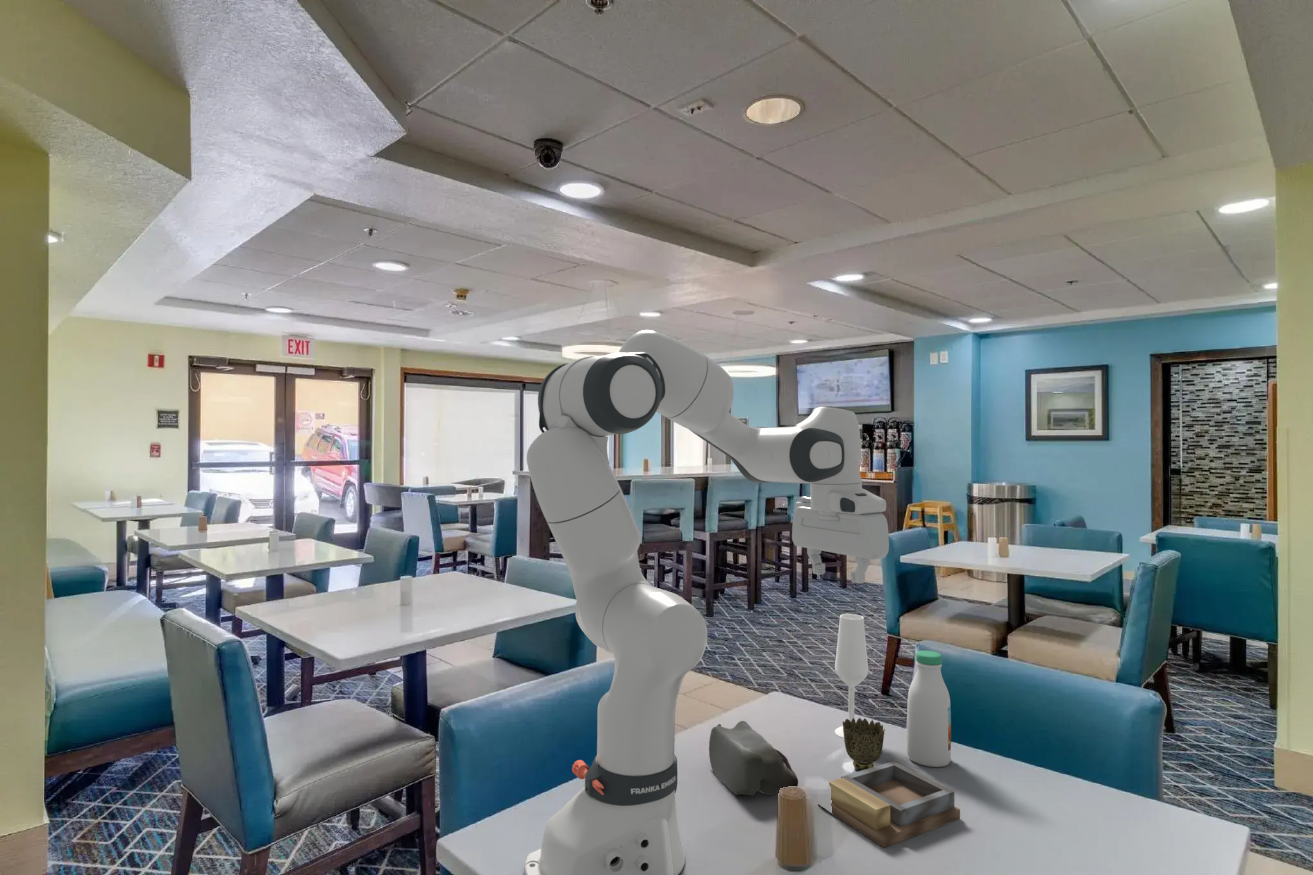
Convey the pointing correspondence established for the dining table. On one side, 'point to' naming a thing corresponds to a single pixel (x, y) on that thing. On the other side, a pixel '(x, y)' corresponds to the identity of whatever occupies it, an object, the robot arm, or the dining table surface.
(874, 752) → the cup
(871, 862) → the dining table surface
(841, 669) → the champagne flute
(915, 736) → the milk bottle
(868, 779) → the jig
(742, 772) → the rock
